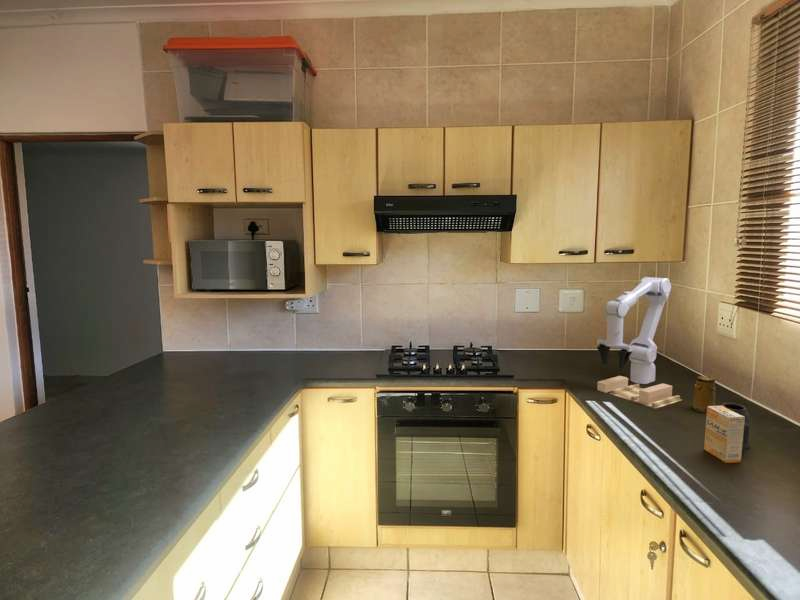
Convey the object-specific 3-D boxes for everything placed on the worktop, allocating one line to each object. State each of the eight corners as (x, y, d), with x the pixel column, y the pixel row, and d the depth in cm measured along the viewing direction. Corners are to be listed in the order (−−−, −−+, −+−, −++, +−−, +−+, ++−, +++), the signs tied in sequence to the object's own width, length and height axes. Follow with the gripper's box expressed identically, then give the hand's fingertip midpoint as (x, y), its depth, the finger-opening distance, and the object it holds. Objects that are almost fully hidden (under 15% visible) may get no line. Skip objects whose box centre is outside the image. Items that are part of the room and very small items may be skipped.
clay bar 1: (619, 386, 191) (620, 375, 190) (627, 388, 188) (628, 377, 187) (597, 392, 184) (597, 381, 183) (605, 395, 181) (605, 384, 180)
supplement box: (702, 450, 134) (705, 405, 132) (718, 449, 134) (721, 404, 132) (725, 463, 125) (728, 416, 124) (742, 462, 126) (745, 415, 124)
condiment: (700, 407, 166) (702, 374, 165) (725, 414, 159) (727, 380, 157) (686, 410, 163) (688, 377, 161) (712, 419, 155) (714, 383, 154)
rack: (636, 388, 187) (636, 382, 187) (682, 402, 171) (682, 396, 171) (609, 395, 180) (609, 389, 179) (655, 410, 164) (655, 404, 163)
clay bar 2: (662, 394, 177) (663, 383, 176) (671, 397, 174) (672, 385, 173) (638, 401, 170) (639, 389, 170) (648, 404, 167) (648, 392, 166)
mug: (707, 435, 143) (709, 400, 141) (741, 437, 141) (744, 401, 139) (725, 453, 131) (728, 414, 130) (762, 455, 129) (765, 416, 128)
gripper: (592, 330, 187) (591, 363, 189) (624, 336, 174) (623, 371, 176) (604, 328, 190) (603, 360, 192) (637, 334, 178) (635, 368, 180)
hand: (613, 365), depth 185 cm, fingers open, 7 cm apart
